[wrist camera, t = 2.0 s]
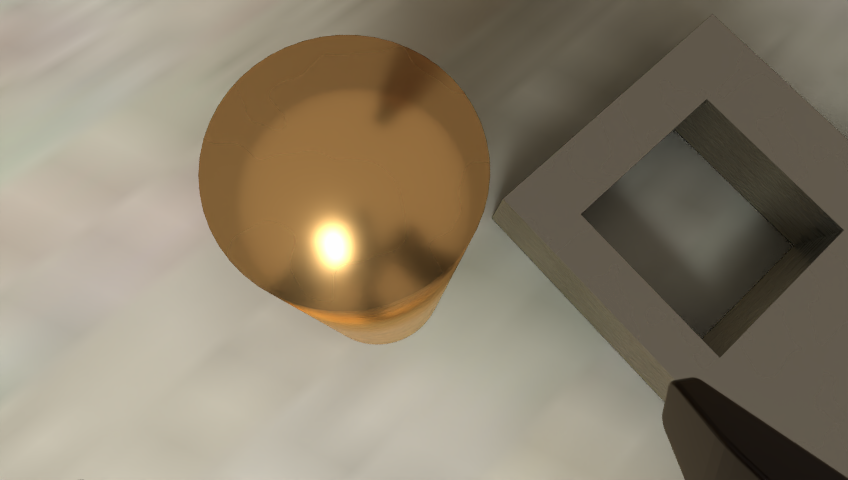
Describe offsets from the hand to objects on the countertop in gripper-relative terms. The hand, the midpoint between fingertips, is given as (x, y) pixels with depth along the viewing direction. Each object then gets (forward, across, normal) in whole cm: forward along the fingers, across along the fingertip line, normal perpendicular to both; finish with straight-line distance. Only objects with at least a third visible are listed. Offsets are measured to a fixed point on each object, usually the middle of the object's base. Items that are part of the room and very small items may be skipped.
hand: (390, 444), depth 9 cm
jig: (+9, -13, +7) cm, 17 cm away
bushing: (+11, 0, +5) cm, 12 cm away
